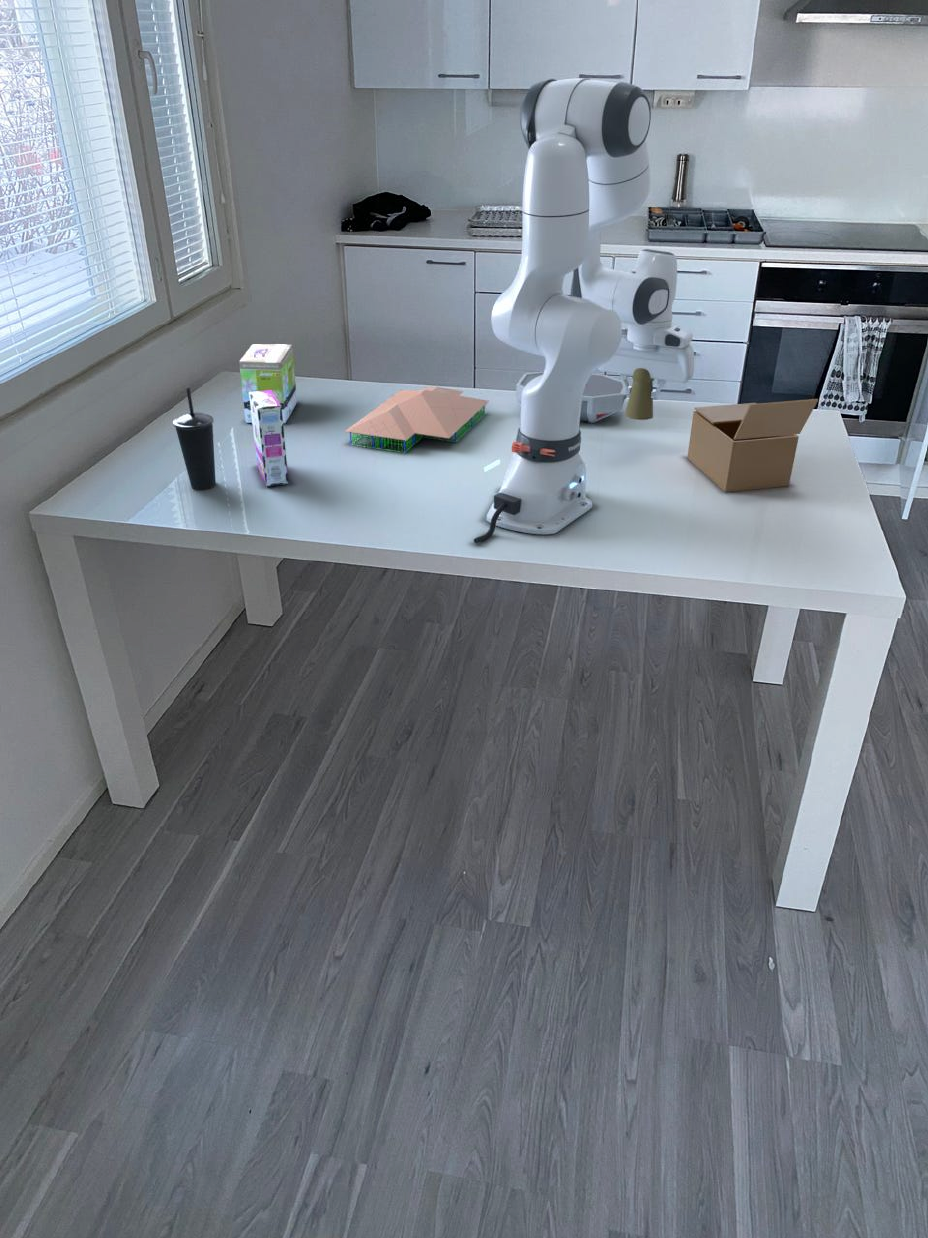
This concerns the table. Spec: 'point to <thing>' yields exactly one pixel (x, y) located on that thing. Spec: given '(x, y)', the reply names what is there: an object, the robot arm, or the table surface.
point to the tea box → (269, 375)
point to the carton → (738, 451)
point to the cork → (640, 396)
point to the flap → (775, 419)
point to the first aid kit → (590, 395)
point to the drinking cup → (197, 446)
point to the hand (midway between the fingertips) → (641, 396)
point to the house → (419, 416)
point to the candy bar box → (269, 437)
